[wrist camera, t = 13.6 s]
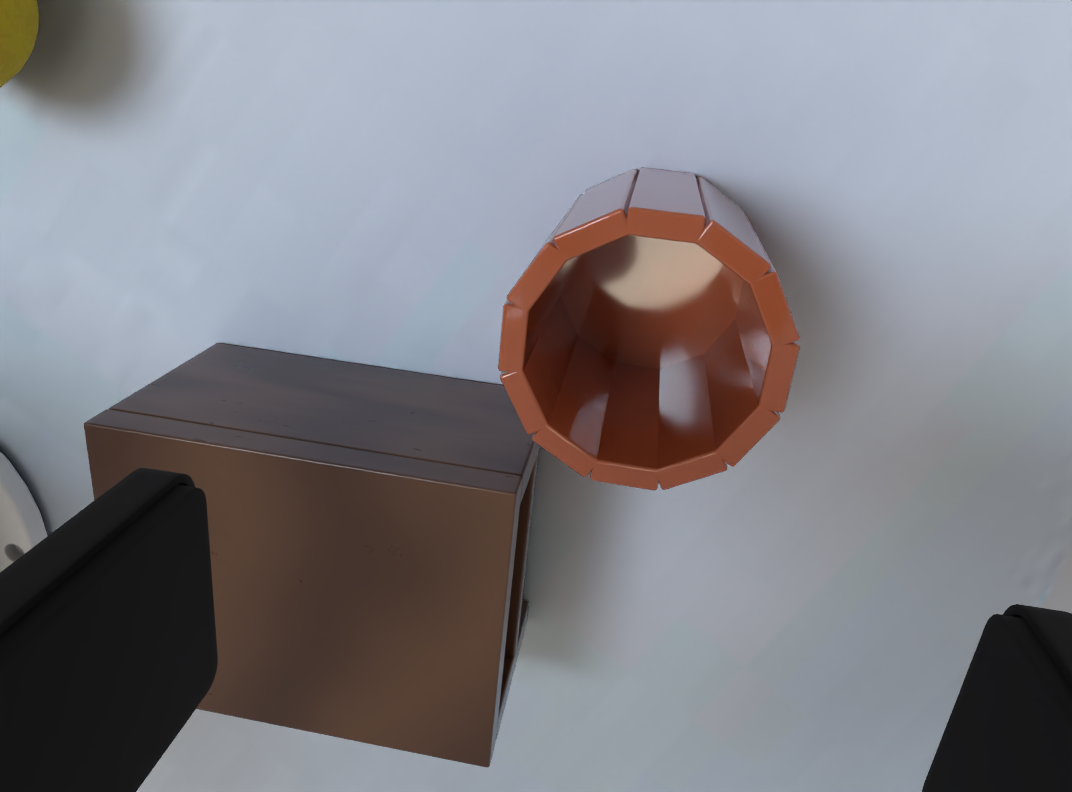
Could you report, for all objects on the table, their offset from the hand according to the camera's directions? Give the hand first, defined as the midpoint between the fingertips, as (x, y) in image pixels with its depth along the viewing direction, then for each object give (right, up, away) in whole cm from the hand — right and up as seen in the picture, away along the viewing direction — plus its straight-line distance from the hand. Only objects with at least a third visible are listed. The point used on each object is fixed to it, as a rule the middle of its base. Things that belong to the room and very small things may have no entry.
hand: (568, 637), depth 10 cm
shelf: (-6, 0, +20) cm, 21 cm away
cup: (+3, +7, +15) cm, 17 cm away
